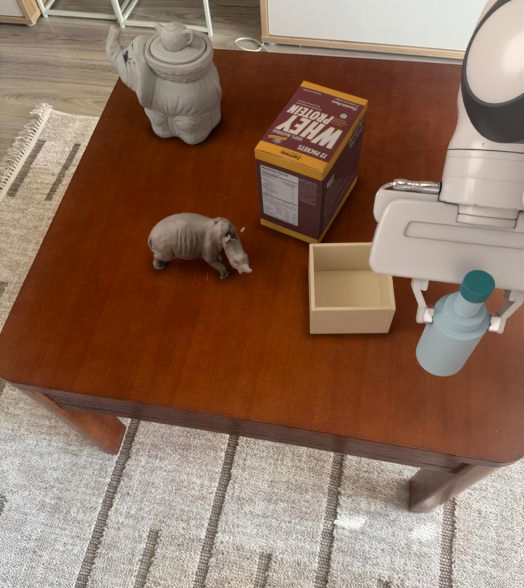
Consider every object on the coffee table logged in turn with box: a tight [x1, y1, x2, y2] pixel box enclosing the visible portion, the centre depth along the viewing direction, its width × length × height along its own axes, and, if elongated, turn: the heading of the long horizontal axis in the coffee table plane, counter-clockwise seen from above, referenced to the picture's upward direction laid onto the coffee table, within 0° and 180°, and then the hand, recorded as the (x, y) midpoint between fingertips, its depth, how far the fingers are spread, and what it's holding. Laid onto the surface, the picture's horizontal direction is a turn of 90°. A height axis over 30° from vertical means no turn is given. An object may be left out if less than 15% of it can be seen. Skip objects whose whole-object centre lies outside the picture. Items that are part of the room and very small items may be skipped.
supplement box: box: [254, 80, 369, 244], centre depth 79 cm, size 10×15×16 cm
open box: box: [308, 241, 397, 335], centre depth 74 cm, size 11×11×6 cm
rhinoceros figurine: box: [147, 212, 253, 280], centre depth 78 cm, size 8×14×15 cm
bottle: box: [415, 270, 496, 377], centre depth 55 cm, size 6×6×15 cm
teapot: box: [104, 21, 223, 145], centre depth 88 cm, size 16×15×19 cm
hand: (458, 327), depth 54 cm, fingers closed on bottle, 5 cm apart
